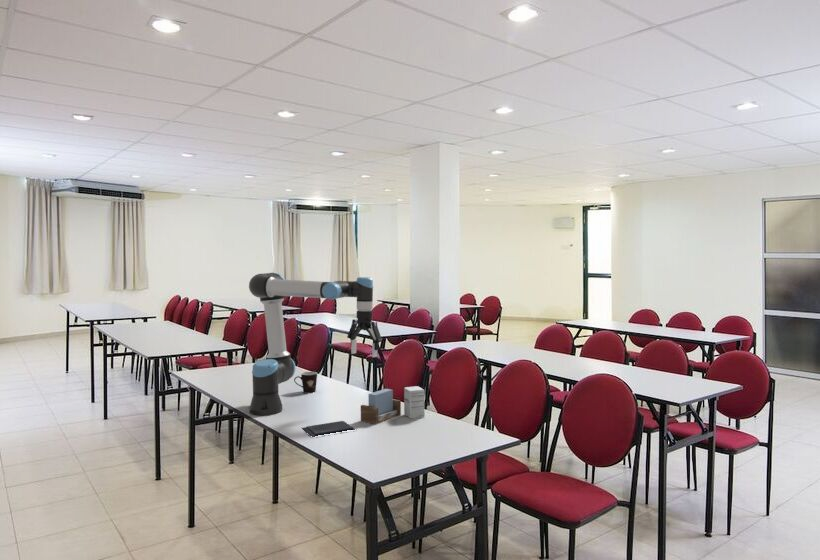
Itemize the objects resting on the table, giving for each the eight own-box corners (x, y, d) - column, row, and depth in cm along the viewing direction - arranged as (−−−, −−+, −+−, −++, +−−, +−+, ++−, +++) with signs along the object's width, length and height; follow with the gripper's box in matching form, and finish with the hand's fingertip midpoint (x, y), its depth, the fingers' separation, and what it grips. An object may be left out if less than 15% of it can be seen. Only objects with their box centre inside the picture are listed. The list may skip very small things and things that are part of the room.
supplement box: (403, 414, 255) (403, 387, 254) (418, 412, 258) (418, 385, 257) (409, 419, 248) (409, 390, 248) (425, 417, 251) (424, 389, 250)
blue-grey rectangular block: (375, 420, 244) (375, 395, 243) (368, 418, 246) (368, 393, 246) (392, 413, 253) (392, 389, 253) (386, 412, 256) (385, 388, 255)
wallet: (311, 435, 222) (300, 425, 236) (311, 439, 223) (300, 429, 236) (357, 427, 231) (345, 418, 245) (357, 432, 232) (345, 422, 245)
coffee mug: (319, 390, 303) (319, 371, 303) (315, 393, 295) (314, 375, 294) (298, 389, 304) (298, 371, 304) (293, 393, 296) (293, 374, 295)
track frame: (376, 424, 240) (376, 408, 240) (360, 420, 246) (360, 405, 246) (400, 415, 254) (400, 400, 254) (385, 412, 259) (385, 397, 259)
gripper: (389, 311, 256) (389, 357, 257) (351, 307, 272) (351, 350, 273) (378, 312, 251) (378, 359, 252) (340, 308, 266) (339, 352, 267)
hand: (364, 355), depth 262 cm, fingers open, 13 cm apart
